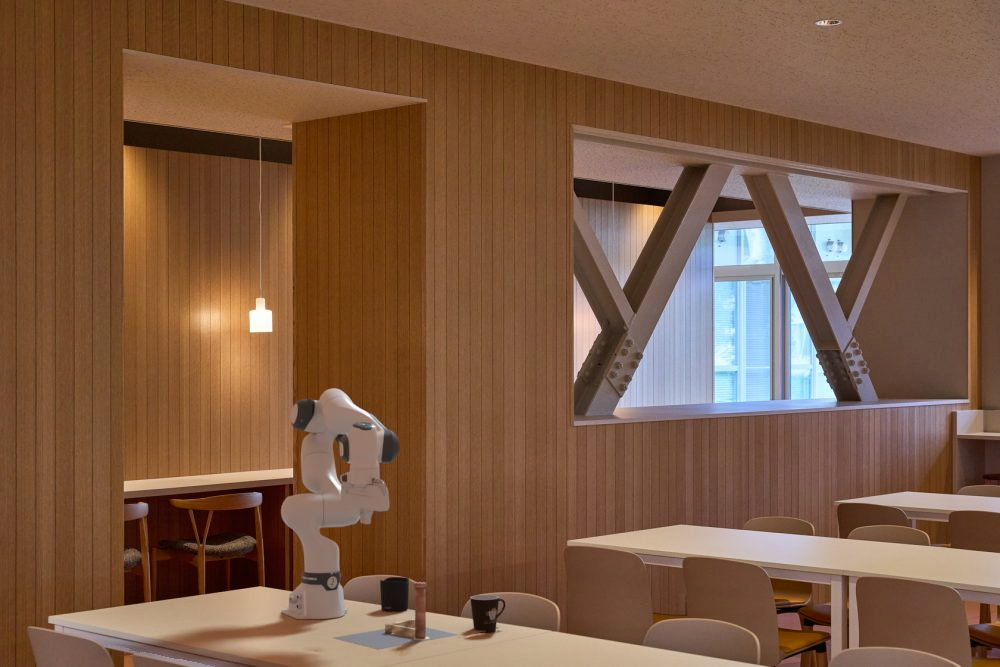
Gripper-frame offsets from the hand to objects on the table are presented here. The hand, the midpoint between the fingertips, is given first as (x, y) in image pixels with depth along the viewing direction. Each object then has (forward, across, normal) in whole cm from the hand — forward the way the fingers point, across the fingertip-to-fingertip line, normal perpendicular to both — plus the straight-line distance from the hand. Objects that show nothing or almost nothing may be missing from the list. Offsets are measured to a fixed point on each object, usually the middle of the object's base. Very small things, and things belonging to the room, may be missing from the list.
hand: (365, 523), depth 372 cm
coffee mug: (+33, -25, -27) cm, 49 cm away
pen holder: (+34, +23, -28) cm, 50 cm away
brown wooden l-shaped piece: (+31, -18, -2) cm, 36 cm away
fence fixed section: (+31, -9, -7) cm, 33 cm away
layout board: (+32, -15, +1) cm, 35 cm away
